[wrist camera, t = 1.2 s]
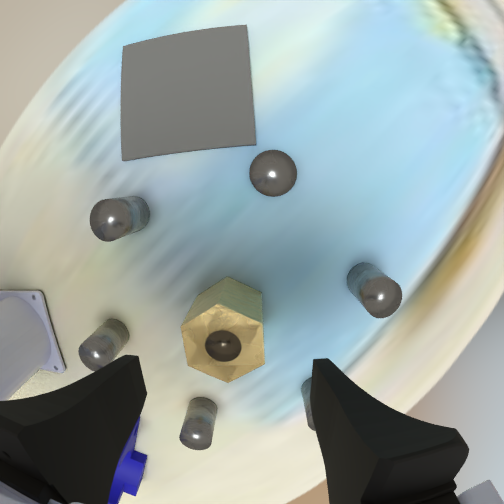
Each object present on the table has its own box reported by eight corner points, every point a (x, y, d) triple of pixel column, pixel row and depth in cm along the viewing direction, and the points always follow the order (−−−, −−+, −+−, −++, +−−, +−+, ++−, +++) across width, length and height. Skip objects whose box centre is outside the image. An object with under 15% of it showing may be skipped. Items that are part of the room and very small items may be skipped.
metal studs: (128, 411, 23) (113, 440, 19) (78, 182, 19) (45, 183, 15) (364, 405, 23) (377, 435, 19) (376, 155, 18) (402, 150, 15)
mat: (124, 161, 19) (121, 160, 18) (125, 48, 17) (123, 46, 17) (256, 145, 19) (256, 144, 18) (246, 27, 17) (246, 24, 16)
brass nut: (204, 343, 22) (191, 383, 17) (195, 278, 20) (177, 305, 16) (264, 341, 21) (265, 381, 16) (260, 274, 20) (260, 301, 15)
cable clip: (142, 478, 26) (128, 515, 20) (107, 464, 26) (90, 498, 20) (155, 421, 24) (137, 467, 18) (111, 402, 23) (86, 444, 18)
